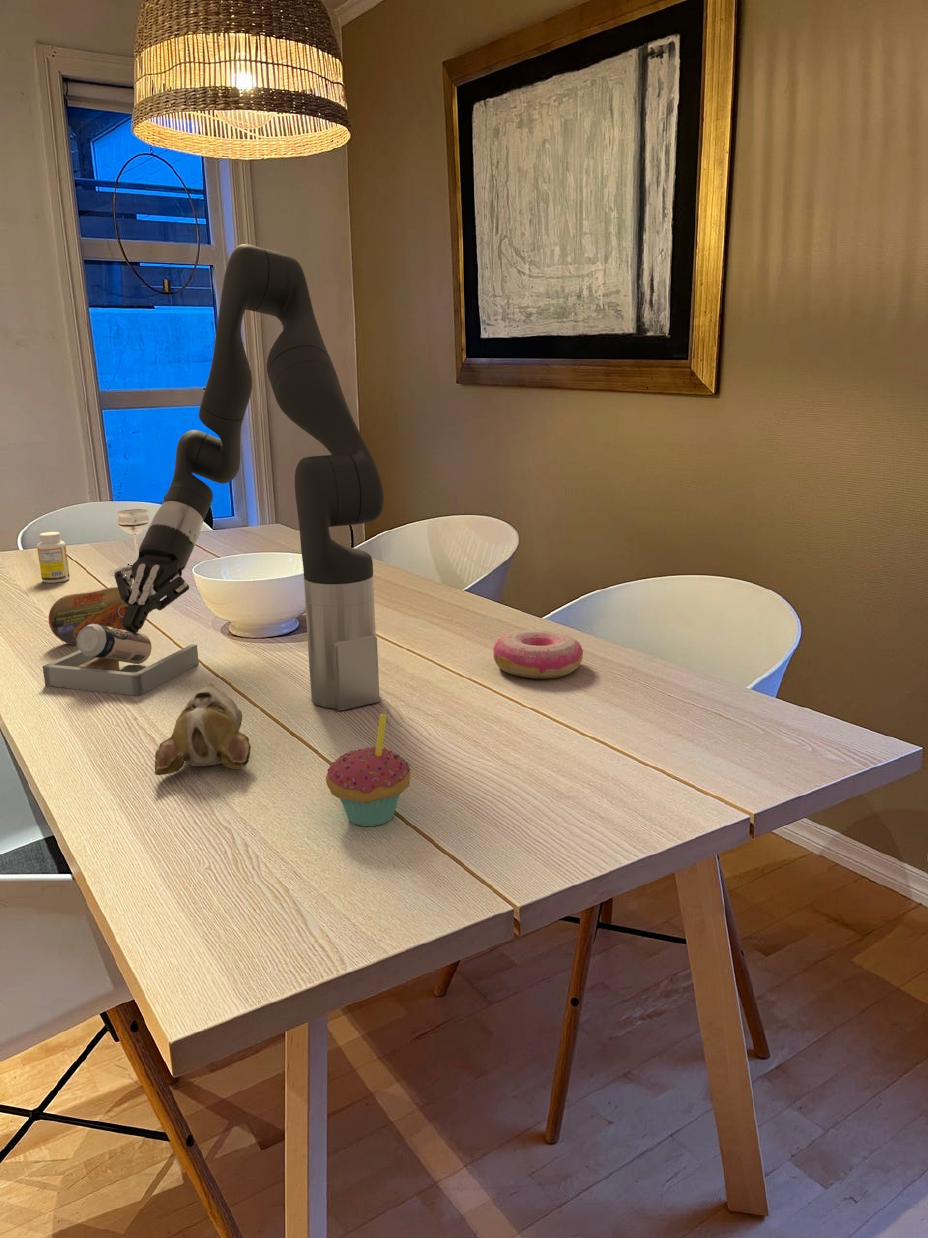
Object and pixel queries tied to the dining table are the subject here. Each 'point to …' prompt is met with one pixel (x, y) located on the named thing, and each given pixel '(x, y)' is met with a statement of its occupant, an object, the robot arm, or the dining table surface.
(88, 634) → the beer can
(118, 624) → the tin
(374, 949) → the dining table surface
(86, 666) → the tan wooden block
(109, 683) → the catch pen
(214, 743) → the ceramic sculpture
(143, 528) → the wineglass
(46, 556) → the supplement bottle
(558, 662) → the donut
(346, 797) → the cupcake
